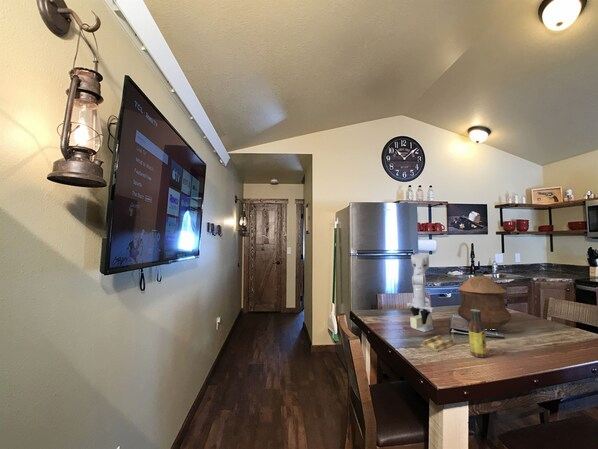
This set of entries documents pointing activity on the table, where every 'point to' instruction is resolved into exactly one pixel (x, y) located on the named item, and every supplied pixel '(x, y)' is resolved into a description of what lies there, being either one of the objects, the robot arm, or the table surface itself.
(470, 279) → the pottery vessel
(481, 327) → the sauce bottle
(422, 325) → the cream rectangular block
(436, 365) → the table surface
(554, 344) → the table surface
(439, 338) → the tan flat piece
